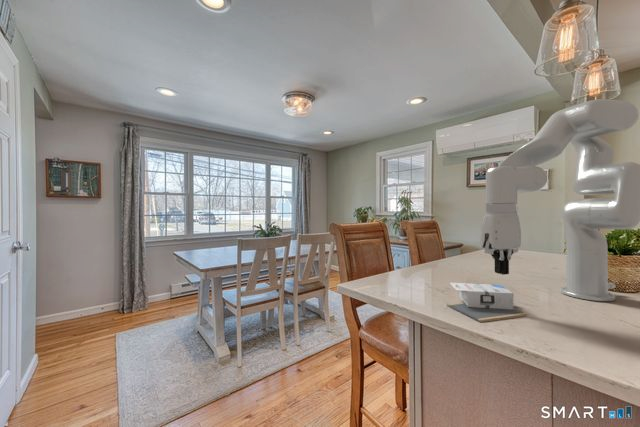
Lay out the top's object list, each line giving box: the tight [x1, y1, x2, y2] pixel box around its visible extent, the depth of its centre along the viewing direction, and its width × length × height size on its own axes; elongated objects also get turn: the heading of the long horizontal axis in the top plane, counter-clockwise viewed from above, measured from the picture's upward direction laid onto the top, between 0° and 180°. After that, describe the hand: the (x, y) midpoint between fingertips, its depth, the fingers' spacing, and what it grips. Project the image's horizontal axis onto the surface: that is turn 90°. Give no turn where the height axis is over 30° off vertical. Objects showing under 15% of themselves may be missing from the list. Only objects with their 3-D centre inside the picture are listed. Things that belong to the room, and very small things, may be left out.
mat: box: [446, 302, 527, 323], centre depth 76 cm, size 15×12×1 cm
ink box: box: [449, 282, 514, 310], centre depth 80 cm, size 9×5×15 cm
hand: (501, 273), depth 77 cm, fingers closed
